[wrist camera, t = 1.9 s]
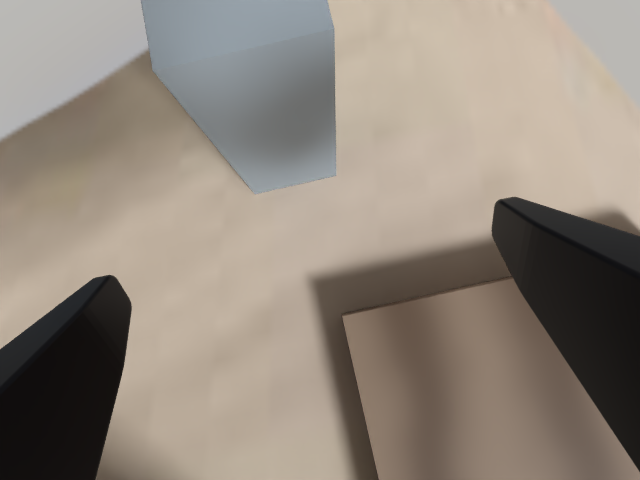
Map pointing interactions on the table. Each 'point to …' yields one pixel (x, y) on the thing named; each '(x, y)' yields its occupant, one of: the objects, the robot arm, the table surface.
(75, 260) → the table surface
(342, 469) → the table surface
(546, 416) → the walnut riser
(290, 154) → the slate block
